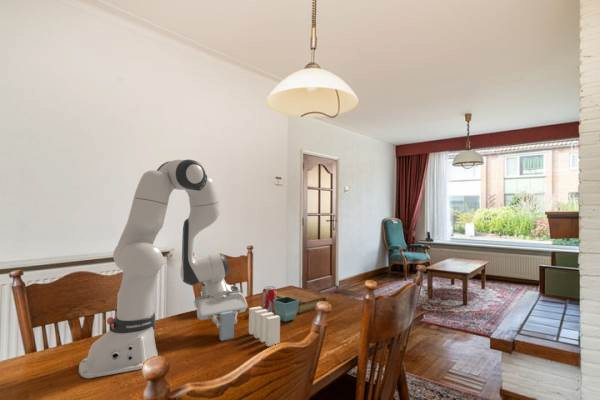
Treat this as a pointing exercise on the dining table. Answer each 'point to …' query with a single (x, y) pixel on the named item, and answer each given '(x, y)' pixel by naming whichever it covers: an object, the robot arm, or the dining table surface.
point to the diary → (302, 299)
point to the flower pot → (286, 308)
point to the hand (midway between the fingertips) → (227, 324)
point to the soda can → (269, 298)
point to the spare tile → (227, 325)
